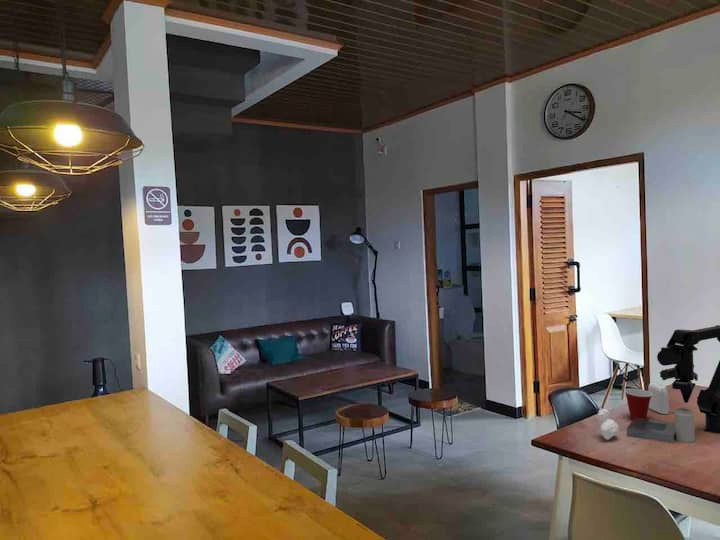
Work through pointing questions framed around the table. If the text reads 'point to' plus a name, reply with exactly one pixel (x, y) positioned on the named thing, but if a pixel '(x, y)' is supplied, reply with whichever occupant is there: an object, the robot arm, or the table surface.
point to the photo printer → (659, 398)
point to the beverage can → (684, 425)
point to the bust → (607, 424)
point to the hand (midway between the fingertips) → (686, 402)
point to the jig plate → (652, 430)
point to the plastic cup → (638, 402)
